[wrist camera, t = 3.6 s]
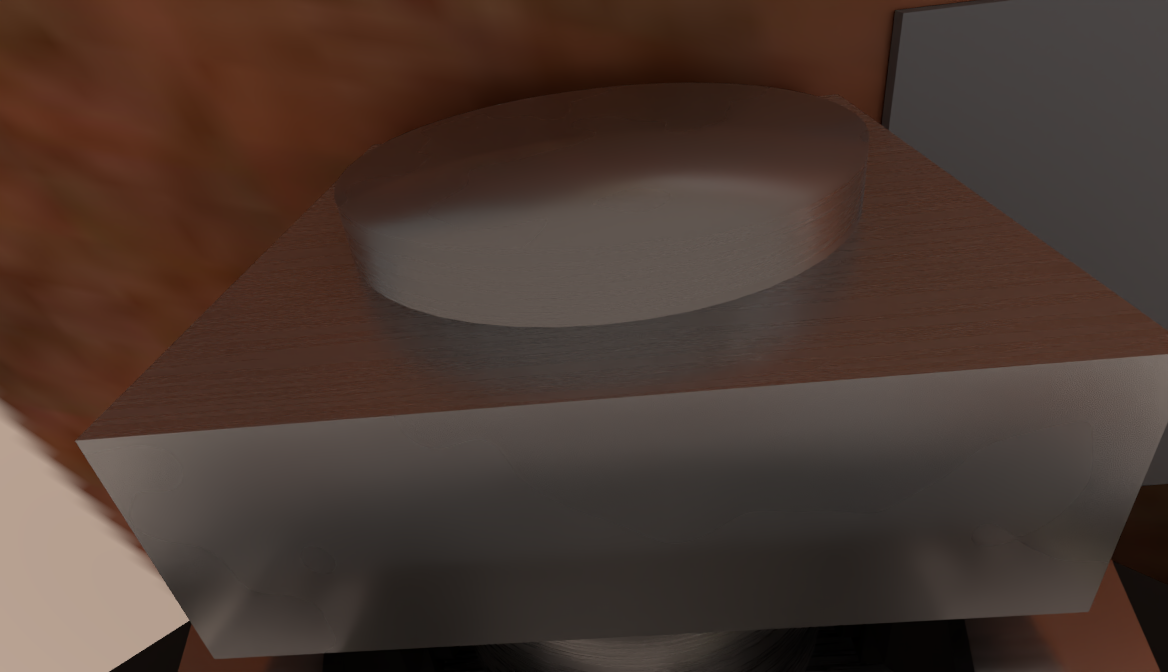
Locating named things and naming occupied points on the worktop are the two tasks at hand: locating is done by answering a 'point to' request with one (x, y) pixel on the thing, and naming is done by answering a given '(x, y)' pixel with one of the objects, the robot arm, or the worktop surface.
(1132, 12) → the joint mat
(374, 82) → the worktop surface
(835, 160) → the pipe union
